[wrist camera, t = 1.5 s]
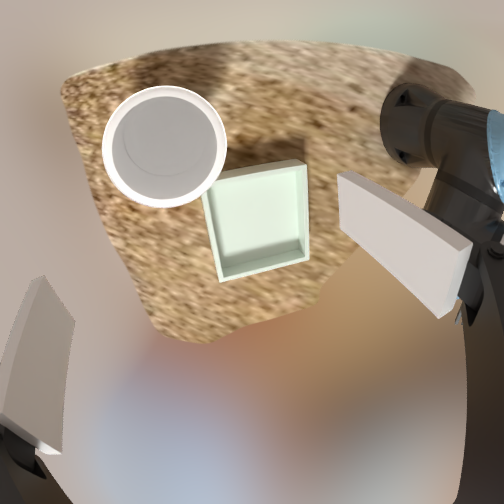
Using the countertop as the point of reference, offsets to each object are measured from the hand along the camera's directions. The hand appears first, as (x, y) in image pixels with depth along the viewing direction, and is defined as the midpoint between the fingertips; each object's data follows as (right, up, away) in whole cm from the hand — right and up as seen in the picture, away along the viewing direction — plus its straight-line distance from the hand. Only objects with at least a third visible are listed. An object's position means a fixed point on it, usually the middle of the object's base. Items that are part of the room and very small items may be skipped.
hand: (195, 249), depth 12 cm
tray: (+3, +5, +32) cm, 33 cm away
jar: (-9, +16, +23) cm, 29 cm away
